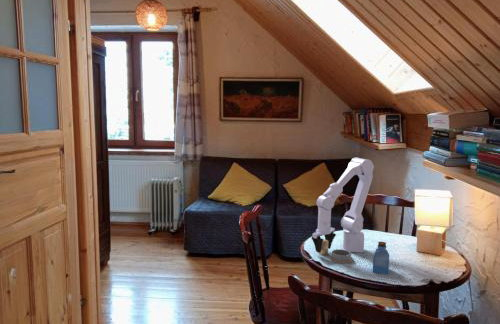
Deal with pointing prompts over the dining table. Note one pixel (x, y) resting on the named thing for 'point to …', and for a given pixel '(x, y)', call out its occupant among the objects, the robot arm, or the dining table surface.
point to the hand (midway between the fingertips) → (323, 250)
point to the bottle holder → (341, 256)
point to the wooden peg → (324, 248)
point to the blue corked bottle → (381, 259)
